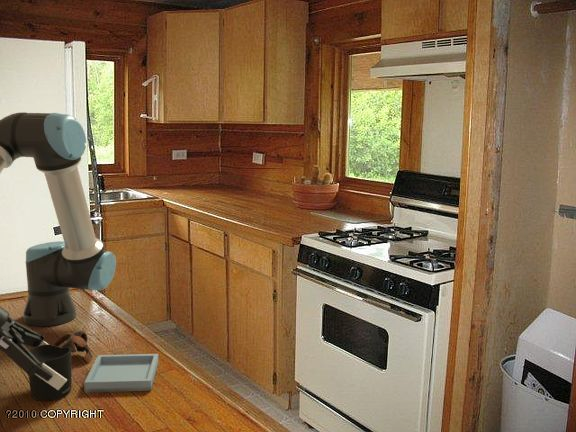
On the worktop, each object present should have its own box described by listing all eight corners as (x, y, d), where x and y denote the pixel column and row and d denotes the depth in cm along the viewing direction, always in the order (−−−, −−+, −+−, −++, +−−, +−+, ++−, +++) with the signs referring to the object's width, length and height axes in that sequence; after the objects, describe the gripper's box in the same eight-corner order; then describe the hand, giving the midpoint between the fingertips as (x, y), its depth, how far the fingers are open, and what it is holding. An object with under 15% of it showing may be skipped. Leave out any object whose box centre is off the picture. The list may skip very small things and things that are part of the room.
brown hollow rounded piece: (88, 370, 150) (68, 346, 147) (57, 383, 152) (38, 359, 149) (103, 341, 161) (86, 317, 158) (75, 352, 163) (57, 330, 160)
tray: (98, 364, 152) (98, 355, 152) (158, 362, 154) (158, 353, 153) (84, 392, 138) (84, 382, 137) (151, 390, 139) (150, 380, 139)
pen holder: (35, 406, 131) (32, 364, 129) (24, 389, 139) (22, 349, 137) (78, 395, 137) (76, 354, 135) (66, 379, 144) (64, 340, 142)
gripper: (-24, 311, 140) (49, 363, 148) (-38, 352, 118) (50, 410, 126) (-1, 287, 141) (71, 340, 149) (-10, 323, 119) (75, 383, 127)
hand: (62, 372), depth 138 cm, fingers open, 12 cm apart
